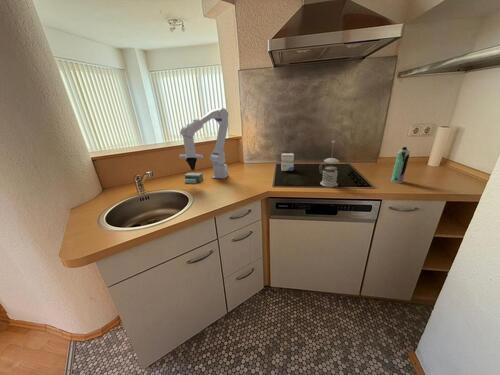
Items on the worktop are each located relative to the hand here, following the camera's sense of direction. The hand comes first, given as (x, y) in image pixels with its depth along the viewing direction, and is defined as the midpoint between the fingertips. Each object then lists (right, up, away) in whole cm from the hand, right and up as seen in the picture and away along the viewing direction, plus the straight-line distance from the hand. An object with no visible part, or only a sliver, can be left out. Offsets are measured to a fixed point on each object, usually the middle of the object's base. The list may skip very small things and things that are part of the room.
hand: (193, 169), depth 124 cm
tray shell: (-3, -7, +8) cm, 11 cm away
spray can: (+121, -7, -6) cm, 121 cm away
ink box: (+62, +2, +24) cm, 66 cm away
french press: (+81, -9, -4) cm, 81 cm away
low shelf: (-2, -6, +10) cm, 12 cm away
